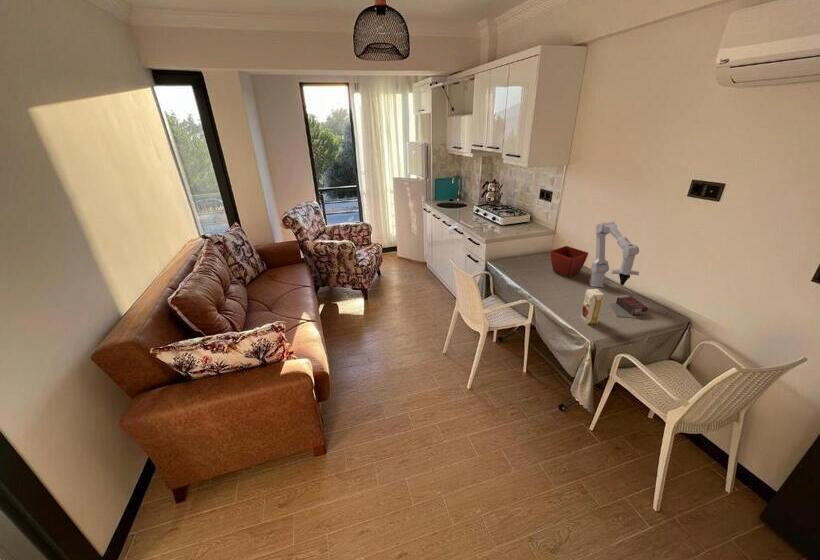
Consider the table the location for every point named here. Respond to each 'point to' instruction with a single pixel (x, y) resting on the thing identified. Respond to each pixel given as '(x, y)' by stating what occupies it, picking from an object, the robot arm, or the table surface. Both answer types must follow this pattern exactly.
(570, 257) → the plant pot
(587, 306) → the juice carton
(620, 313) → the mat
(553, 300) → the table surface
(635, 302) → the supplement box
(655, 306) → the table surface
